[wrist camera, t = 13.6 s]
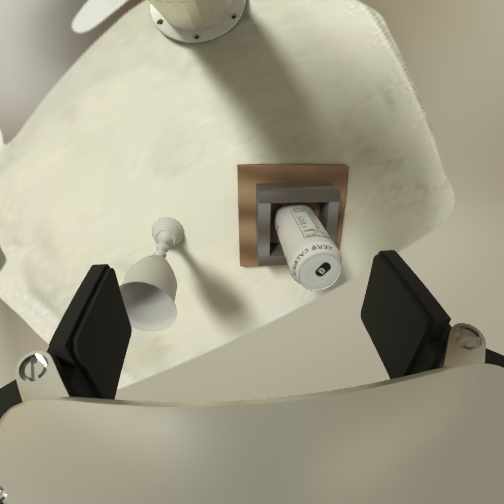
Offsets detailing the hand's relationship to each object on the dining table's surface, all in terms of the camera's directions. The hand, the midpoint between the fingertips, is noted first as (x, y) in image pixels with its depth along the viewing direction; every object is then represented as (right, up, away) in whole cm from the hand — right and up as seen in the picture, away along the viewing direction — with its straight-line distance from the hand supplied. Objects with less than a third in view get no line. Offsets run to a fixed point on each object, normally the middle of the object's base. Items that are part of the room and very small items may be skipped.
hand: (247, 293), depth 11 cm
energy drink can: (+6, +7, +35) cm, 36 cm away
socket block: (+6, +7, +36) cm, 37 cm away
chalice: (-13, +5, +36) cm, 39 cm away
